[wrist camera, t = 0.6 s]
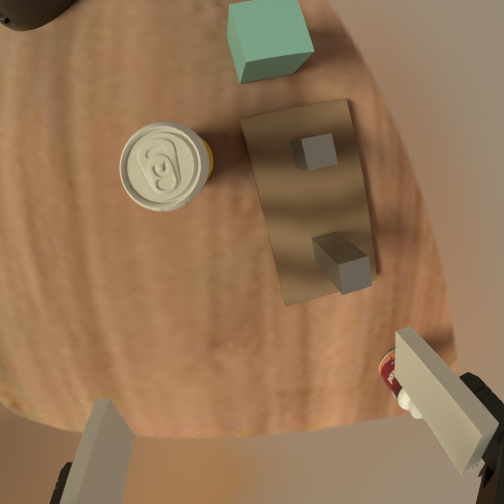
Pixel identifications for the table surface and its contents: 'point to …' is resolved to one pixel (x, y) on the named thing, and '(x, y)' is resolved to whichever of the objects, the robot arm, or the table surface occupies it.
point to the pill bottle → (396, 384)
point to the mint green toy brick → (267, 38)
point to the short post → (314, 152)
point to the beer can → (165, 165)
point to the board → (307, 193)
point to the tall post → (342, 262)
